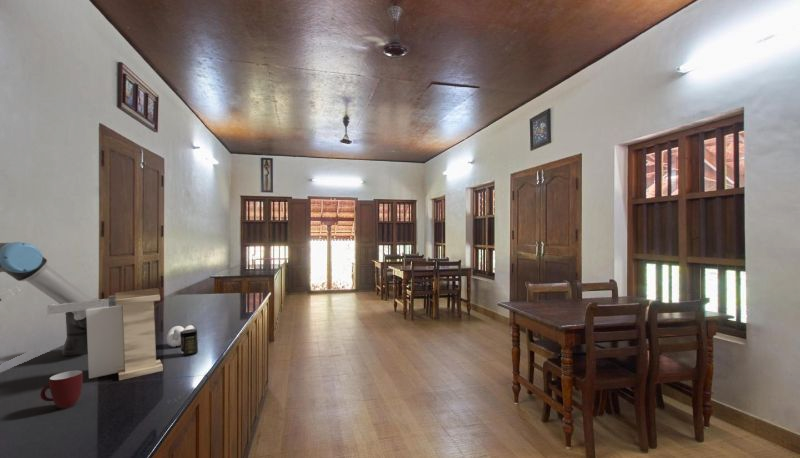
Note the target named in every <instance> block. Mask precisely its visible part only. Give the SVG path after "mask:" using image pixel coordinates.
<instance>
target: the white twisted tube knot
mask: <svg viewBox="0 0 800 458" xmlns="http://www.w3.org/2000/svg"><path fill="white" fill-rule="evenodd" d="M189 329H195V327H194V325H191V324H190V325H187V326H185V328H184V327H183V326H181V325H176V326H173V327H171V328H170V330H168V332H167V334H166V342H167V345H168V346H170V347H172V348H177V347H179V346H181V337H180V332H181V331H184V330H189ZM176 346H177V347H176Z"/></svg>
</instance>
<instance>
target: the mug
mask: <svg viewBox="0 0 800 458" xmlns="http://www.w3.org/2000/svg"><path fill="white" fill-rule="evenodd" d="M83 373H84V372H83V370H77V369H75V370H69V371H64V372H60V373H57V374H55V375H52V376H51V377H49V378H48V380H49V381H48V385H45V386H44V387H43V388H42V389H41V391H40V394H39V395H40V398H41V399H42V401H45V402H53V404H54V405H56V406H57V408H58V409H59V408H60V410H65V409H64V408H66V409H69V408H72V407H73V406H75V405H76V404H77V402H78V401H79V399H80V397H81V394H82V388H83V387H82V386H83V380H84V375H83ZM47 390H49V391H50V394H51V397H48V396H47V395H46V391H47Z"/></svg>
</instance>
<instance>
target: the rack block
mask: <svg viewBox="0 0 800 458" xmlns="http://www.w3.org/2000/svg"><path fill="white" fill-rule="evenodd" d="M86 318H87V343H88V353H87V365H88V366H87V367H88V368H87V369H88V379H93V378H94V379H95V378H98V377H103V376H108V375H112V374H118V368H121V367H124V341H123V316H122V305H120V306H112V307H104V308H96V309H88V310H86Z"/></svg>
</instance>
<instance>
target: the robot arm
mask: <svg viewBox="0 0 800 458" xmlns="http://www.w3.org/2000/svg"><path fill="white" fill-rule="evenodd" d="M0 273H5V274H8V275H9V276H10V277H12V278H13V279H15V280H16V281H18V282H25V281H26V282H27V283H29V284H30V285H31V286H33V287H34V288H36V289H38V290H39V291H40V292H42V293H43V294H45V295H46V296H47V297H49V298H50V299H51V300H53V301H55V302H56V303H57V304H65V303H74V302H82V301H91V300H100V299H99V298H97V297H96V298H92V297H90V296H89V295H88V294H86V293H85V292H84V291H82V290H81V289H80V288H78V287H77V286H75V285H74V284H73V283H72V282H70V281H69V280H68V279H66V278H65V277H64V276H62V275H61V274H60V273H58V271H56V270H54V269H53V268H51V267H50V266H49V265H48V259H47V258H45V257H44V256H43V253H42V251H41V249H39V247H37V246H36V245H34V244H31V243H29V242H23V241H14V242H0ZM21 292H22V290H20V288H19V287H18V286H17V285H14V286H13V287H11V288H8V289H7V290H5V291H3V292H1V293H0V304H1V303H3V302H6V301H7V300H9V299H11V298H13V297H15V296H16V295H17V294H19V293H21ZM64 314H65V324H66V325H65V328H66V338H65V341H64V344H63V347H62V350H61V353H62V356H64V357H73V356H80V355H81V356H82V355H86V354H87V355H88V343H87V318H86V310H80V311H72V312H64Z"/></svg>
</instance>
